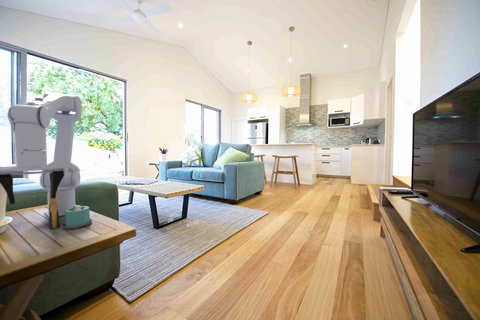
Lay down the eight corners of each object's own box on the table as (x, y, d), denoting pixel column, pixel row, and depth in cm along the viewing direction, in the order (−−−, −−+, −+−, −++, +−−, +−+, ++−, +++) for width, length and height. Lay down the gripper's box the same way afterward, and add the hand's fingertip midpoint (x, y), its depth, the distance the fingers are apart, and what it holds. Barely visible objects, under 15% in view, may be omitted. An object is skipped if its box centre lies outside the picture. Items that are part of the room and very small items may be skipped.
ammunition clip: (59, 227, 58) (57, 187, 58) (50, 229, 57) (48, 188, 56) (57, 218, 66) (55, 183, 65) (49, 219, 65) (48, 183, 64)
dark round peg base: (59, 225, 60) (58, 206, 59) (87, 219, 65) (87, 201, 65) (65, 231, 55) (65, 211, 55) (95, 224, 61) (94, 205, 61)
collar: (63, 223, 59) (63, 209, 59) (85, 218, 64) (85, 205, 64) (68, 227, 56) (68, 212, 56) (91, 222, 61) (91, 208, 60)
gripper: (-12, 150, 44) (-9, 209, 45) (70, 150, 56) (72, 197, 57) (-13, 150, 48) (-10, 204, 49) (64, 150, 60) (65, 194, 61)
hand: (33, 200), depth 53 cm, fingers open, 7 cm apart
